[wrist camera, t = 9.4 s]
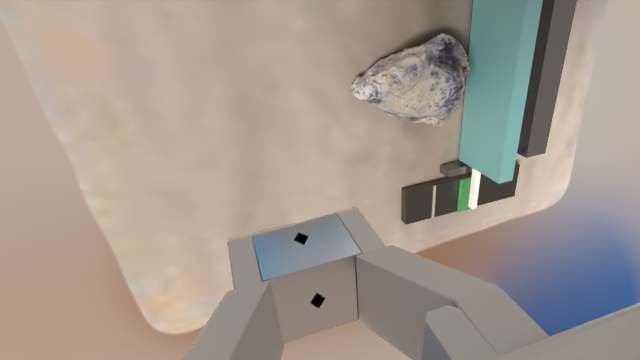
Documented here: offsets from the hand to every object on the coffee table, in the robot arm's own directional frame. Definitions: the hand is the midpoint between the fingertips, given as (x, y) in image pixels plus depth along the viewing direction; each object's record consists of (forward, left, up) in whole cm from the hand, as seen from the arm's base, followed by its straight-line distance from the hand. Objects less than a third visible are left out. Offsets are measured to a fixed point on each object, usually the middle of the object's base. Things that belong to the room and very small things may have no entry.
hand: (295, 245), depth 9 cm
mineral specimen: (+2, +16, -24) cm, 29 cm away
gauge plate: (+6, +23, -24) cm, 33 cm away
